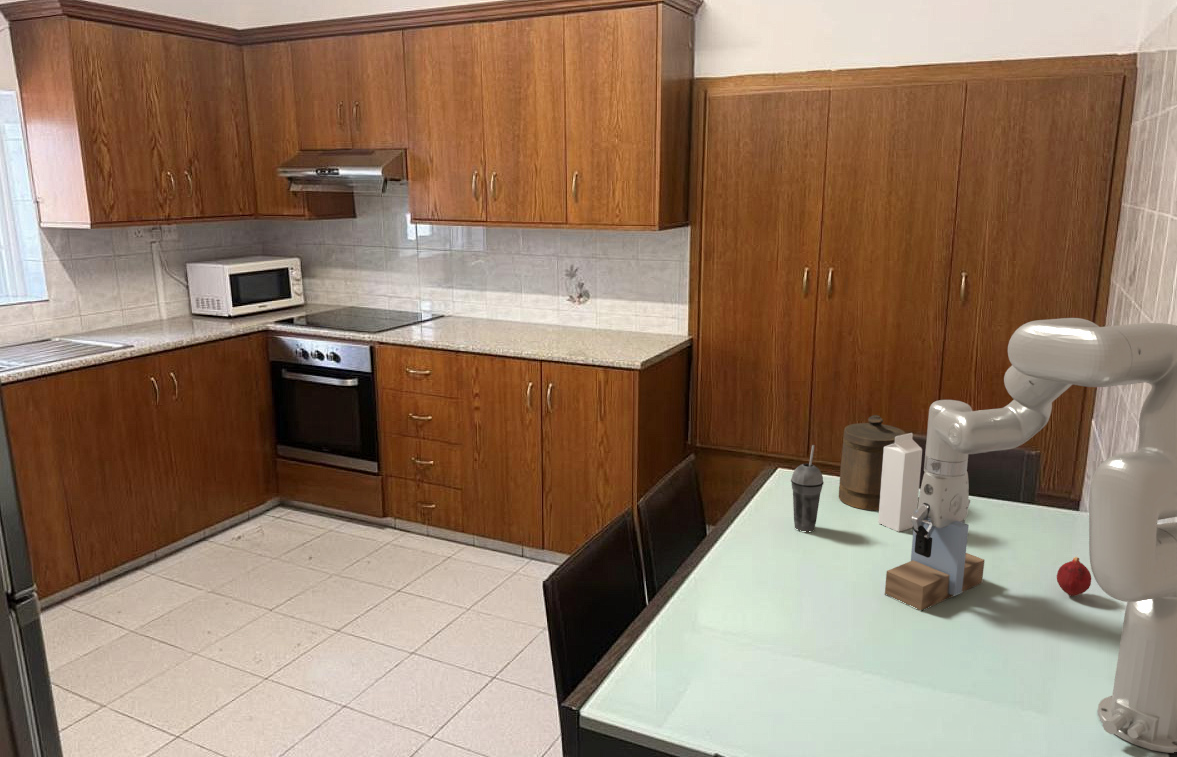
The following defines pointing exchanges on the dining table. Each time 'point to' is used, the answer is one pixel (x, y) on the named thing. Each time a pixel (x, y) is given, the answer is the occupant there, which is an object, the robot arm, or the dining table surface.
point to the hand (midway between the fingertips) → (937, 548)
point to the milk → (900, 483)
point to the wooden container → (864, 462)
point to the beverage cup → (806, 495)
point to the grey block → (946, 553)
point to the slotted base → (929, 582)
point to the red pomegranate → (1074, 577)
